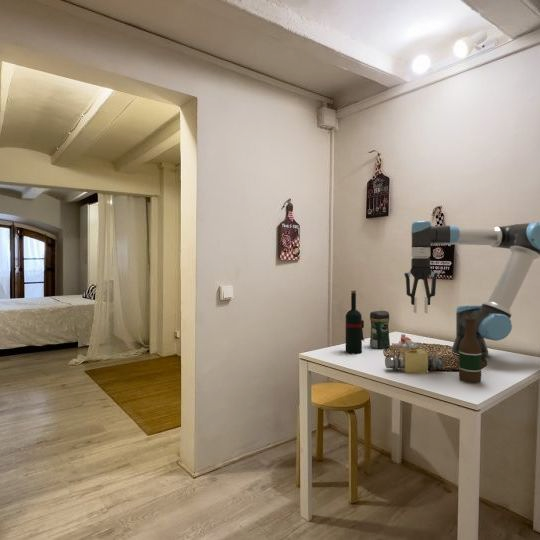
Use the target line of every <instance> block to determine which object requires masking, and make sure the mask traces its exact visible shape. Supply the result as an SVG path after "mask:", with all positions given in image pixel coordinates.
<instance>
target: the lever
mask: <svg viewBox="0 0 540 540" xmlns="http://www.w3.org/2000/svg"><path fill="white" fill-rule="evenodd" d="M400 341H401V342H402V343H405V344H406V345H408V349H420V343H418V342H414V341H412V339H411V338H409V336H405V337H401V336H400Z"/></svg>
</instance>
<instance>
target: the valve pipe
mask: <svg viewBox="0 0 540 540" xmlns="http://www.w3.org/2000/svg"><path fill="white" fill-rule="evenodd" d="M384 365H385V368H386V369H392V370H393V371H394V372H397V371H399V369H400V370H401V371H403V373H404V374H428V373H429V370H430V371H432V372H435V371H436V370H437V369H442V368H443V367H444V361H443V358H442V357H441V356H435V354H429V353H428V352H427V351H426V350H424V349H422V348H419V349H410V348H408V349H401V348H399V356H398V355H397V354H391V357H390V356H387V357H386V356H385V358H384ZM429 368H430V369H429ZM428 369H429V370H428Z"/></svg>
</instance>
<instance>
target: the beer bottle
mask: <svg viewBox="0 0 540 540" xmlns="http://www.w3.org/2000/svg"><path fill="white" fill-rule="evenodd" d="M465 320H466V326H465V336H464V338H463V340H462V341H461V343H460V345H459V356H458V378H459V381H461V382H462V383H463V382H464V383H466V384H479V383H481V382H482V359H483V358H482V352H481V346H480V344H479V342H478V341H477V339H476V328H475V321H476V318H475V317H466V318H465Z"/></svg>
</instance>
